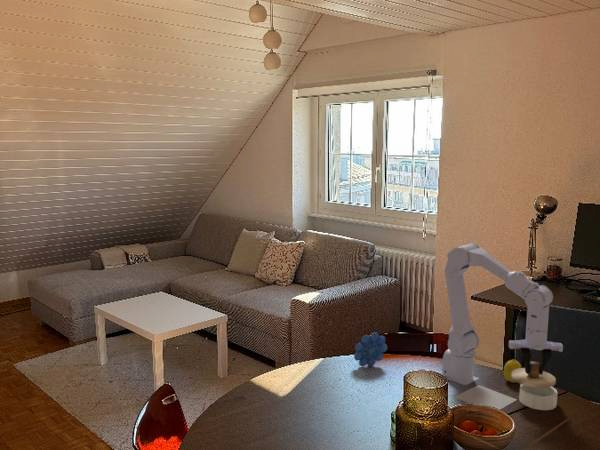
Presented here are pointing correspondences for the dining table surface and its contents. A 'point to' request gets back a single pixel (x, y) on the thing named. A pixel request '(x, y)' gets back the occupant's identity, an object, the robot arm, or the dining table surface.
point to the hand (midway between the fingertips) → (533, 372)
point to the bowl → (538, 397)
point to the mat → (485, 397)
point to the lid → (533, 377)
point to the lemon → (511, 369)
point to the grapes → (370, 349)
